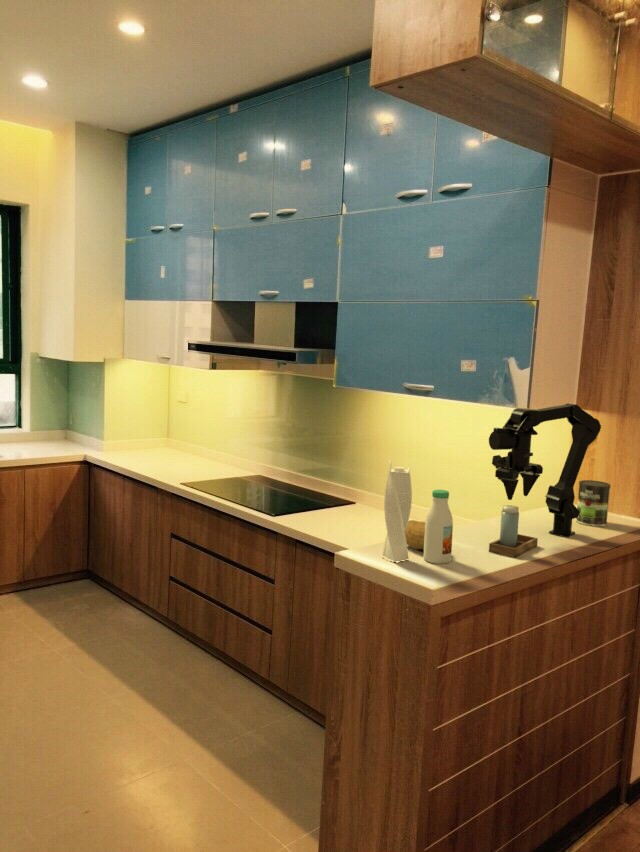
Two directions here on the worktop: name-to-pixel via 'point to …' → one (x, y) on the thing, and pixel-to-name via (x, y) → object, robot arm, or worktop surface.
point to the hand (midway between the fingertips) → (517, 497)
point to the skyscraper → (397, 512)
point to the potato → (415, 534)
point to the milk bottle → (438, 529)
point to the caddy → (522, 546)
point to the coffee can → (593, 502)
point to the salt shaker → (509, 526)
